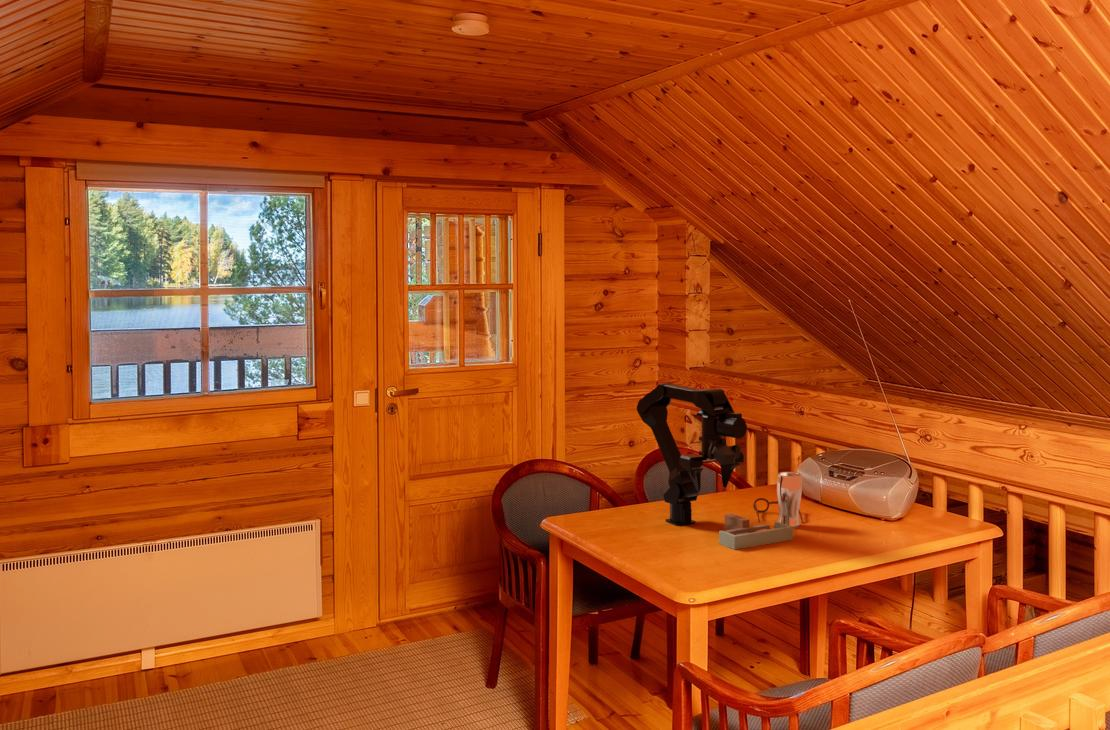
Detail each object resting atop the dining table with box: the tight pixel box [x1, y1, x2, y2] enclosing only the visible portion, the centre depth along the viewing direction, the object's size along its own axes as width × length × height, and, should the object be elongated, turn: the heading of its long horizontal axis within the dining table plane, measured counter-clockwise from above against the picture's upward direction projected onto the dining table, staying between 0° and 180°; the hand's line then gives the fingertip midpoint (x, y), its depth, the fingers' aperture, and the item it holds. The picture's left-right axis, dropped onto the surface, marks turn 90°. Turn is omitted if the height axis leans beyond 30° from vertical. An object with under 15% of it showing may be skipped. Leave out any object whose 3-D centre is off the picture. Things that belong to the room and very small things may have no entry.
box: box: [718, 521, 794, 551], centre depth 268 cm, size 6×20×4 cm, turn 118°
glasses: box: [752, 497, 804, 524], centre depth 294 cm, size 13×13×5 cm
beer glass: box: [776, 471, 803, 529], centre depth 284 cm, size 7×7×15 cm
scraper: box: [724, 513, 771, 535], centre depth 275 cm, size 9×14×5 cm, turn 118°
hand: (711, 489), depth 278 cm, fingers open, 9 cm apart
